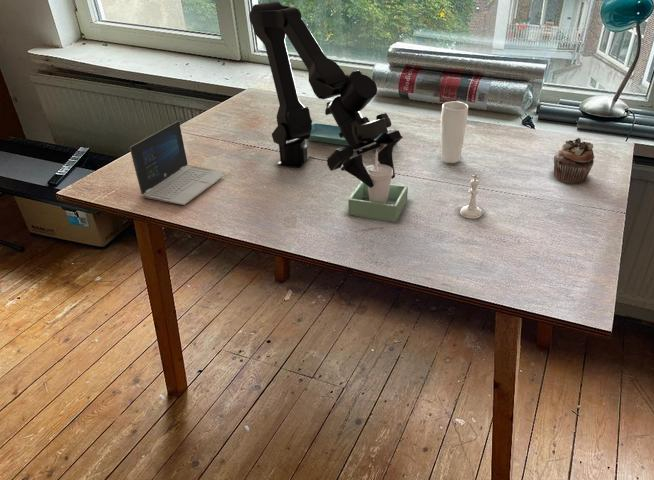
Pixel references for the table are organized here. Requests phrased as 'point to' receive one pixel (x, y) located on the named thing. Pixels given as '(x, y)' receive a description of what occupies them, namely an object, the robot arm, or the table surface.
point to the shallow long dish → (328, 134)
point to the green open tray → (375, 208)
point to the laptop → (169, 168)
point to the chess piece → (472, 201)
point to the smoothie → (379, 181)
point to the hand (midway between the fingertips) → (383, 182)
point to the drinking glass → (453, 130)
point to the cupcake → (573, 161)
